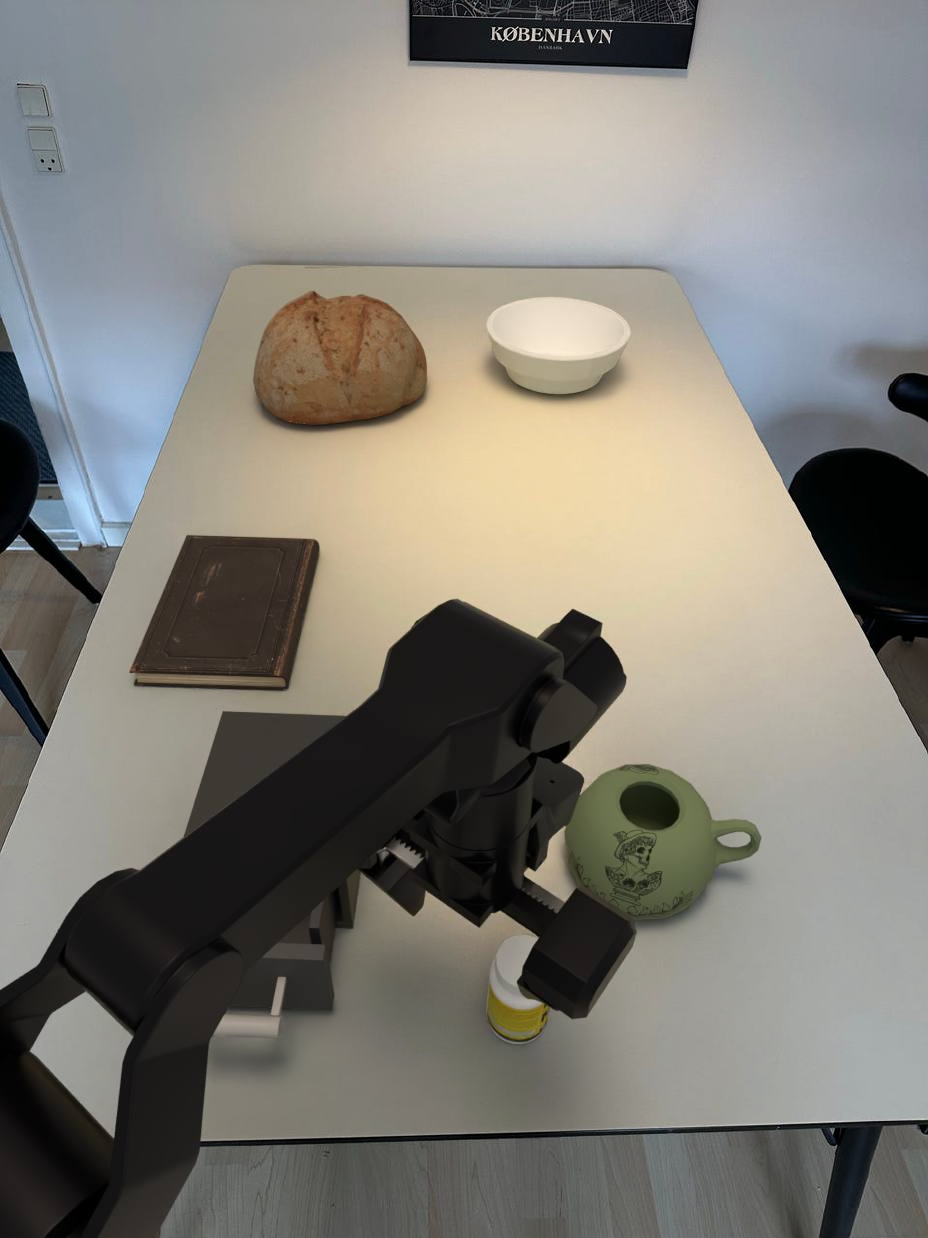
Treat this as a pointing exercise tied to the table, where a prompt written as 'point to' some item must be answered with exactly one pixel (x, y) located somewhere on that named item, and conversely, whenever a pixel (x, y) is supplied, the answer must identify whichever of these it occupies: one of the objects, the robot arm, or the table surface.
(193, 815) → the cabinet
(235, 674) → the hardcover book
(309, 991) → the drawer
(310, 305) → the bread
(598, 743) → the table surface
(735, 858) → the mug
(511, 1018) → the supplement bottle
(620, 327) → the bowl
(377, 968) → the table surface
